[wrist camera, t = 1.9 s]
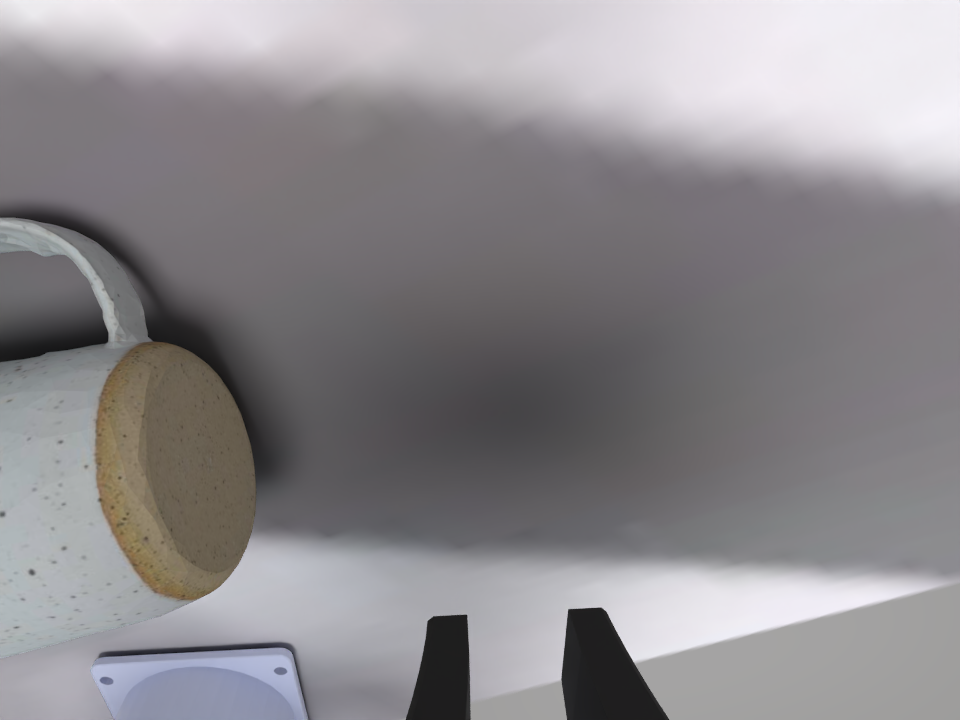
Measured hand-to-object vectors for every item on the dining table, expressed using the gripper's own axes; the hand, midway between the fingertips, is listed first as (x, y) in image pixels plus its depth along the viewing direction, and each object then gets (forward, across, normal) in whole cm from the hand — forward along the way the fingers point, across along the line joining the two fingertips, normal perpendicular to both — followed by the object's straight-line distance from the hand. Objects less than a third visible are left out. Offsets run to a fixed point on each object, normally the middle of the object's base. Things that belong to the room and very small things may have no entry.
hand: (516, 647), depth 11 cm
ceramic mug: (+10, +12, -1) cm, 16 cm away
